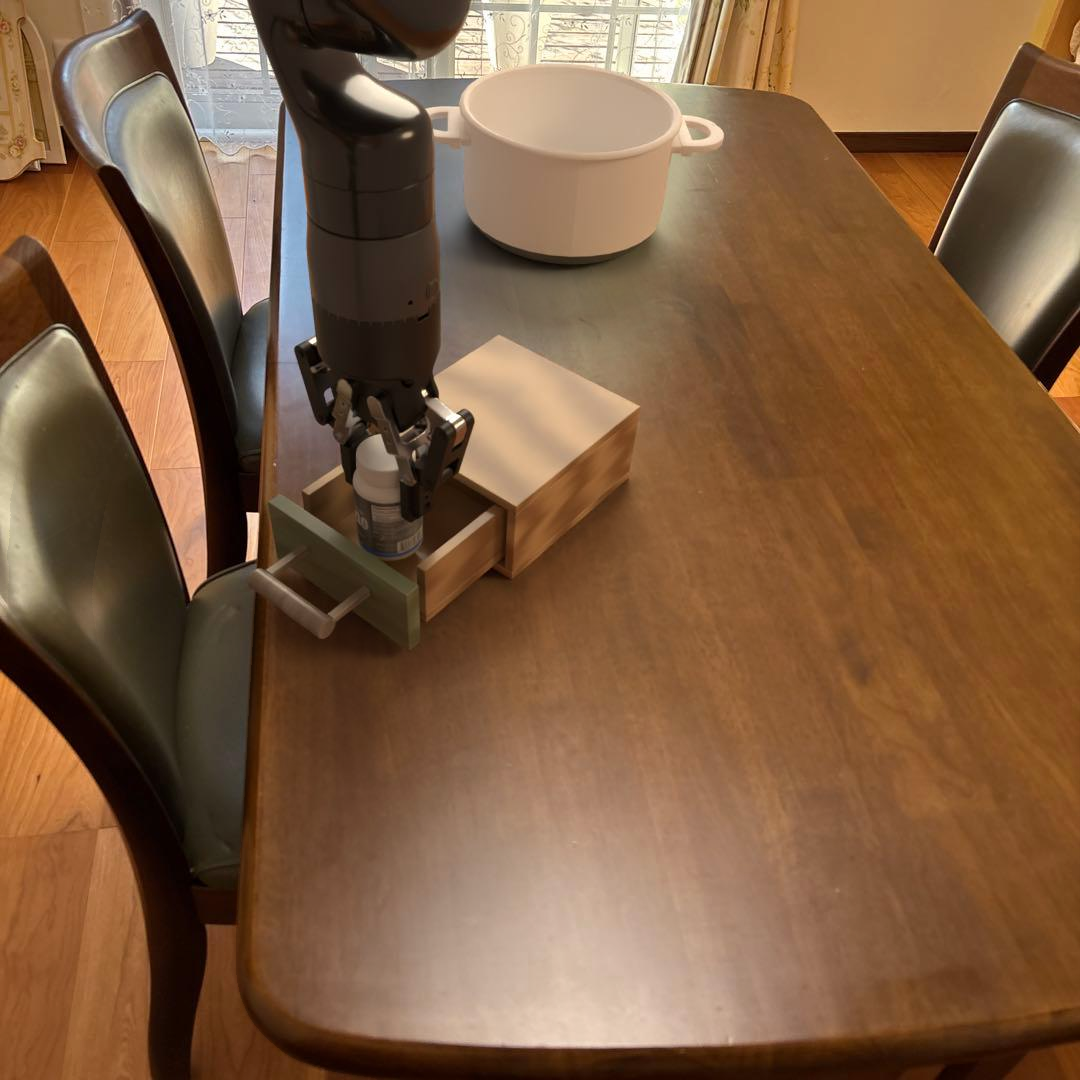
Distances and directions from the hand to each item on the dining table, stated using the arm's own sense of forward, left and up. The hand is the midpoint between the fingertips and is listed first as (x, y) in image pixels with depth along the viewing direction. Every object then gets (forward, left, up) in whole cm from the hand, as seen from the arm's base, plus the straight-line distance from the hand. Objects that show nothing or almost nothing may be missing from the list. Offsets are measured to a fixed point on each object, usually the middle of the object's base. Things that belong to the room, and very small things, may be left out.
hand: (388, 496), depth 71 cm
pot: (+51, +23, -8) cm, 57 cm away
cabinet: (+13, 0, -8) cm, 15 cm away
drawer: (0, 0, -7) cm, 7 cm away
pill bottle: (0, 0, -5) cm, 5 cm away
